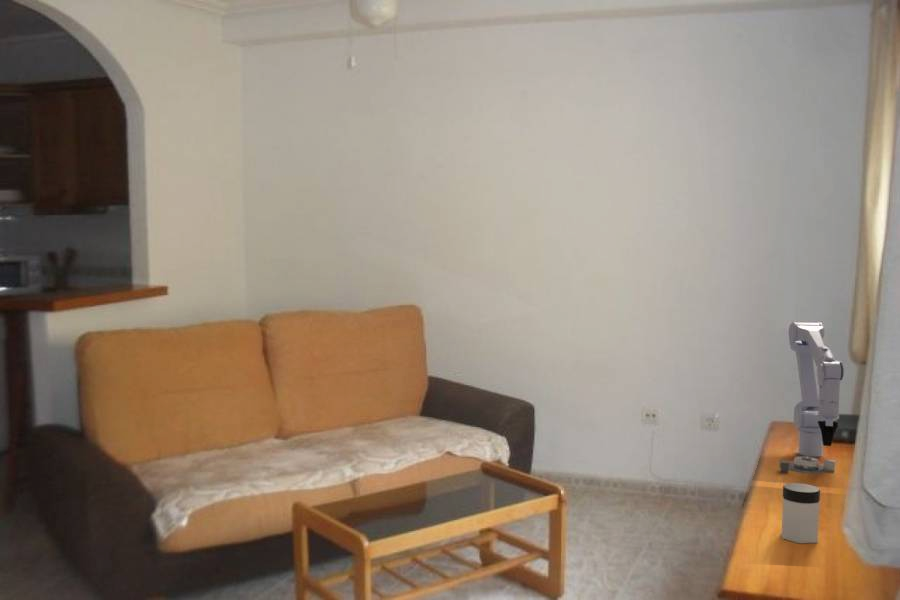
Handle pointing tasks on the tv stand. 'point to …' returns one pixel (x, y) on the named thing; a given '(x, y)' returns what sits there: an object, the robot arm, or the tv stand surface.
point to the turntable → (827, 466)
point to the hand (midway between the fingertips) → (826, 445)
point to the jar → (800, 513)
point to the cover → (806, 463)
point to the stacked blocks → (784, 466)
